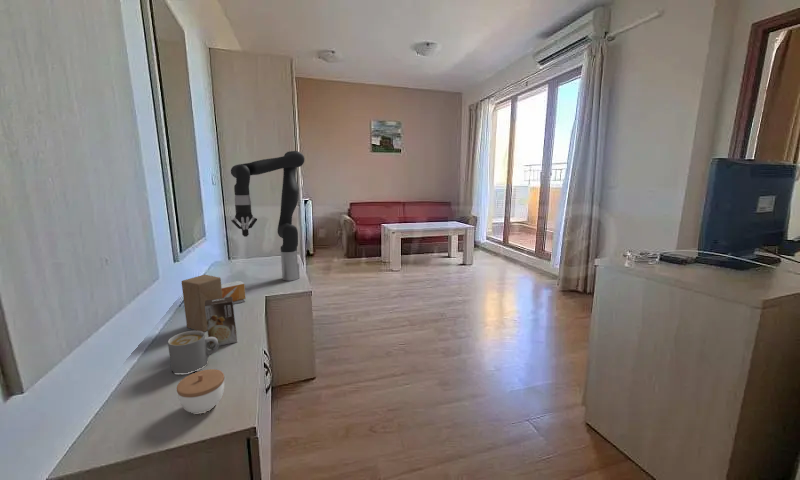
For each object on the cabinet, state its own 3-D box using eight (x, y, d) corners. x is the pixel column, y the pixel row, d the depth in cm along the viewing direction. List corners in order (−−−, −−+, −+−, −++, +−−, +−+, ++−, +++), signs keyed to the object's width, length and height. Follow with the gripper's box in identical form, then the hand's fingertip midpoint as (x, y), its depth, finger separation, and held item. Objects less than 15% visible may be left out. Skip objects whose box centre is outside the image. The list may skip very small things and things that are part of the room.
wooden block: (225, 323, 138) (221, 277, 134) (202, 333, 129) (197, 284, 125) (209, 318, 142) (204, 274, 138) (186, 328, 133) (180, 280, 129)
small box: (246, 298, 164) (217, 305, 155) (241, 295, 168) (213, 302, 159) (244, 283, 162) (215, 289, 153) (240, 280, 167) (211, 286, 158)
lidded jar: (233, 393, 93) (230, 363, 91) (213, 421, 83) (210, 387, 81) (195, 394, 93) (191, 363, 91) (170, 421, 82) (165, 388, 81)
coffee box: (236, 335, 127) (233, 295, 124) (237, 342, 122) (233, 301, 119) (209, 340, 123) (205, 299, 120) (208, 348, 117) (204, 305, 114)
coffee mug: (168, 378, 100) (164, 348, 98) (175, 361, 109) (171, 333, 107) (218, 368, 105) (215, 339, 103) (220, 353, 114) (218, 326, 112)
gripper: (254, 202, 178) (256, 234, 182) (227, 203, 170) (230, 236, 174) (258, 203, 173) (260, 236, 176) (230, 204, 165) (233, 238, 168)
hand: (245, 236), depth 175 cm, fingers closed
